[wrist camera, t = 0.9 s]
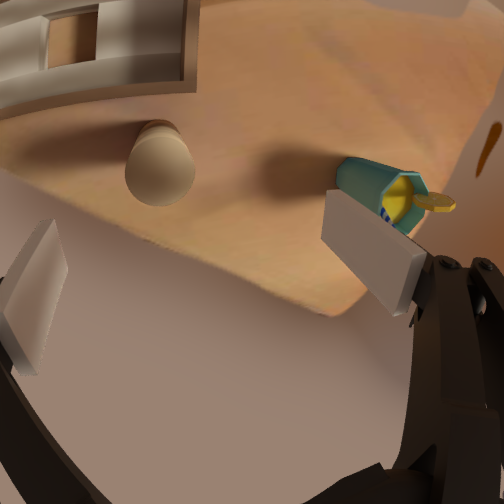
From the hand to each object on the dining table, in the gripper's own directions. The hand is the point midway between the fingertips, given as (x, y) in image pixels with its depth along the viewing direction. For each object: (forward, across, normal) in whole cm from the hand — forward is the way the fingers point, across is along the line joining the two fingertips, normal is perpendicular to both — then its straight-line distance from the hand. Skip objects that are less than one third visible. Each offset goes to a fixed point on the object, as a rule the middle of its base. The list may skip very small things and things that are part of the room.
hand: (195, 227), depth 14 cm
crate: (+21, -10, +13) cm, 27 cm away
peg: (+21, -2, +1) cm, 21 cm away
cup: (+21, +21, -5) cm, 30 cm away
